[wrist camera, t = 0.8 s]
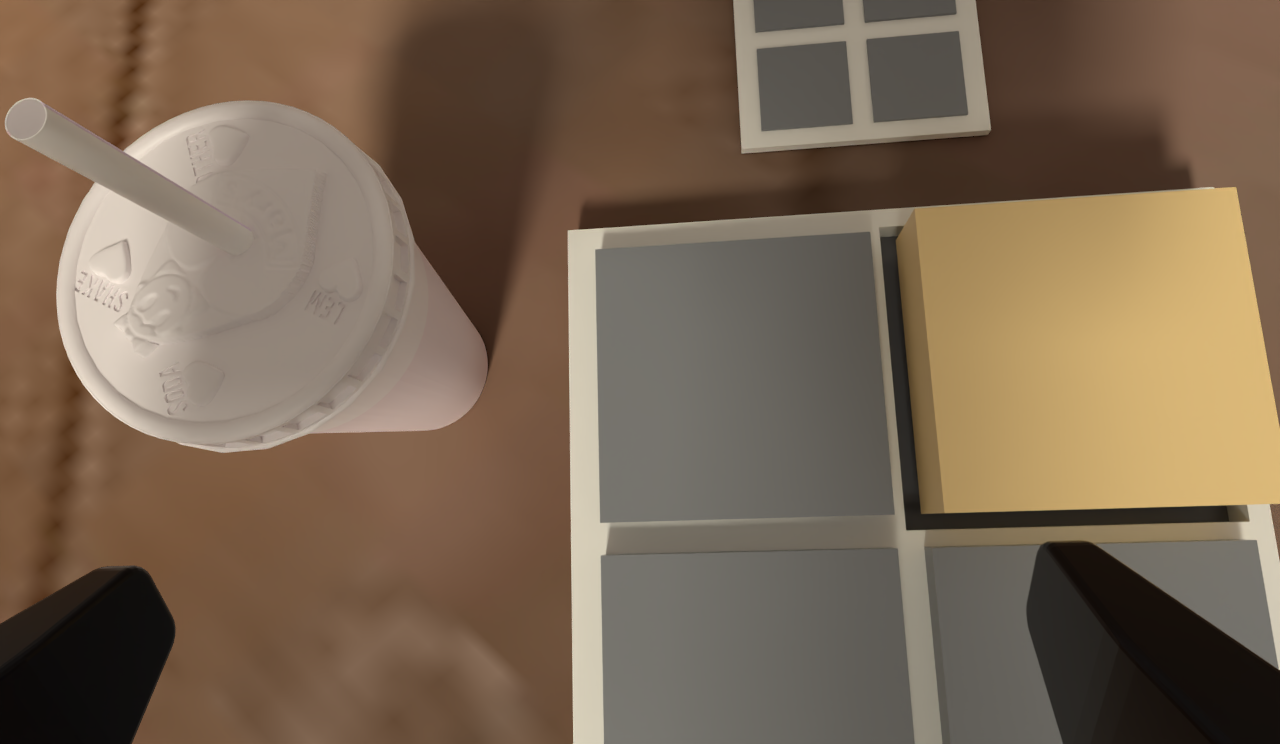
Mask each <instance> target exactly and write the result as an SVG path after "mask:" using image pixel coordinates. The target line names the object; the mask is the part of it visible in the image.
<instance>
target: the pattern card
mask: <svg viewBox="0 0 1280 744" xmlns="http://www.w3.org/2000/svg"><path fill="white" fill-rule="evenodd" d="M733 9H734V27H735V45H736V63H737V81H738V99H739V117H740V135H741V153H742V154H743V153H756V152H770V151H783V150H796V149H809V148H822V147H836V146H849V145H862V144H875V143H888V142H902V141H915V140H928V139H941V138H954V137H968V136H981V135H988V134H989V132H990V131H991V125H990V116H989V108H988V100H987V91H986V83H985V75H984V66H983V58H982V50H981V41H980V33H979V25H978V16H977V8H976V0H733Z"/></svg>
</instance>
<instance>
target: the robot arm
mask: <svg viewBox="0 0 1280 744" xmlns="http://www.w3.org/2000/svg"><path fill="white" fill-rule="evenodd" d="M1026 617H1027V624H1028V629H1029V633H1030V636H1031V639H1032V643H1033V646H1034V649H1035V653H1036V656H1037V659H1038V663H1039V666H1040V669H1041V673H1042V676H1043V679H1044V683H1045V686H1046V689H1047V693H1048V696H1049V699H1050V703H1051V706H1052V709H1053V713H1054V716H1055V719H1056V723H1057V726H1058V729H1059V733H1060V736H1061V739H1062V743H1063V744H1280V670H1279V669H1277V668H1276V667H1274V666H1273V665H1271V664H1270V663H1268V662H1267V661H1265V660H1264V659H1263V658H1261V657H1260V656H1258V655H1257V654H1255V653H1254V652H1252V651H1251V650H1249V649H1248V648H1246V647H1245V646H1244V645H1242V644H1241V643H1239V642H1238V641H1236V640H1235V639H1233V638H1232V637H1230V636H1229V635H1227V634H1226V633H1225V632H1223V631H1222V630H1220V629H1219V628H1217V627H1216V626H1214V625H1213V624H1211V623H1210V622H1208V621H1207V620H1206V619H1204V618H1203V617H1201V616H1200V615H1198V614H1197V613H1195V612H1194V611H1192V610H1191V609H1189V608H1188V607H1187V606H1185V605H1184V604H1182V603H1181V602H1179V601H1178V600H1176V599H1175V598H1173V597H1172V596H1170V595H1169V594H1168V593H1166V592H1165V591H1163V590H1162V589H1160V588H1159V587H1157V586H1156V585H1154V584H1153V583H1151V582H1150V581H1149V580H1147V579H1146V578H1144V577H1143V576H1141V575H1140V574H1138V573H1137V572H1135V571H1134V570H1132V569H1131V568H1130V567H1128V566H1127V565H1125V564H1124V563H1122V562H1121V561H1119V560H1118V559H1116V558H1115V557H1113V556H1112V555H1111V554H1109V553H1108V552H1106V551H1105V550H1103V549H1102V548H1100V547H1099V546H1097V545H1096V544H1094V543H1092V542H1089V541H1084V540H1066V541H1047V542H1045V543H1043V544H1042V545H1041V546H1040V547H1039V549H1038V551H1037V554H1036V559H1035V564H1034V569H1033V574H1032V579H1031V584H1030V589H1029V594H1028V599H1027V604H1026ZM174 639H175V622H174V619H173V617H172V615H171V613H170V611H169V609H168V607H167V605H166V604H165V602H164V600H163V598H162V596H161V594H160V592H159V591H158V589H157V587H156V585H155V583H154V581H153V579H152V578H151V576H150V574H149V573H148V572H147V571H146V570H144V569H143V568H142V567H138V566H107V567H101V568H98V569H95V570H93V571H91V572H90V573H88V574H86V575H84V576H83V577H81V578H79V579H77V580H76V581H74V582H72V583H70V584H69V585H67V586H65V587H63V588H62V589H60V590H58V591H56V592H55V593H53V594H51V595H50V596H48V597H46V598H44V599H43V600H41V601H39V602H37V603H36V604H34V605H32V606H30V607H29V608H27V609H25V610H23V611H22V612H20V613H18V614H16V615H15V616H13V617H11V618H9V619H8V620H6V621H4V622H2V623H1V624H0V744H132V742H133V739H134V737H135V735H136V732H137V730H138V727H139V725H140V723H141V720H142V718H143V715H144V713H145V711H146V708H147V706H148V703H149V701H150V699H151V696H152V694H153V691H154V689H155V687H156V684H157V682H158V679H159V677H160V675H161V672H162V670H163V667H164V665H165V663H166V660H167V658H168V656H169V653H170V651H171V648H172V646H173V643H174Z"/></svg>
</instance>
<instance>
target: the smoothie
mask: <svg viewBox="0 0 1280 744" xmlns="http://www.w3.org/2000/svg"><path fill="white" fill-rule="evenodd" d="M5 128H6V131H7V133H8V134H9V135H10V137H12V138H14V139H15V140H17V141H19V142H21V143H23V144H25V145H27V146H28V147H30V148H32V149H34V150H36V151H38V152H40V153H42V154H44V155H45V156H47V157H49V158H51V159H53V160H55V161H57V162H59V163H60V164H62V165H64V166H66V167H68V168H70V169H72V170H74V171H75V172H77V173H79V174H81V175H83V176H85V177H87V178H89V179H90V180H92V181H94V182H95V183H94V185H93V186H92V188H91V189H90V191H89V192H88V194H87V195H86V196H85V198H84V199H83V201H82V203H81V205H80V207H79V209H78V211H77V213H76V215H75V217H74V220H73V222H72V224H71V226H70V228H69V230H68V234H67V237H66V241H65V244H64V247H63V251H62V255H61V258H60V262H59V271H58V278H57V292H56V297H57V314H58V321H59V328H60V332H61V336H62V340H63V344H64V347H65V349H66V352H67V355H68V358H69V360H70V362H71V364H72V366H73V368H74V370H75V372H76V374H77V375H78V377H79V379H80V380H81V382H82V383H83V385H84V386H85V387H86V389H87V390H88V391H89V392H90V394H91V395H92V396H93V397H94V399H96V400H97V401H98V402H99V403H100V404H101V405H102V406H103V407H104V408H105V409H106V410H107V411H108V412H110V413H111V414H112V415H113V416H115V417H116V418H117V419H119V420H120V421H122V422H124V423H125V424H127V425H129V426H130V427H132V428H134V429H137V430H139V431H141V432H143V433H145V434H148V435H151V436H154V437H157V438H160V439H164V440H169V441H173V442H177V443H179V444H181V445H185V446H191V447H196V448H201V449H206V450H211V451H216V452H222V453H227V452H238V451H249V450H260V449H269V448H272V447H274V446H277V445H280V444H282V443H285V442H288V441H290V440H293V439H296V438H298V437H301V436H304V435H307V434H309V433H344V432H387V431H427V430H434V429H439V428H442V427H445V426H447V425H450V424H452V423H453V422H455V421H457V420H458V419H460V418H461V417H462V416H464V415H465V414H466V413H467V412H468V411H469V410H470V409H471V408H472V406H473V405H474V404H475V403H476V401H477V400H478V398H479V396H480V394H481V392H482V390H483V388H484V385H485V382H486V377H487V371H488V358H487V352H486V348H485V345H484V342H483V340H482V338H481V336H480V334H479V333H478V331H477V330H476V328H475V327H474V325H473V324H472V323H471V321H470V320H469V318H468V317H467V315H466V314H465V313H464V311H463V310H462V308H461V307H460V305H459V304H458V303H457V301H456V300H455V298H454V297H453V296H452V294H451V293H450V291H449V290H448V288H447V287H446V286H445V284H444V283H443V281H442V280H441V278H440V277H439V276H438V274H437V273H436V271H435V270H434V269H433V267H432V266H431V264H430V263H429V261H428V260H427V259H426V257H425V256H424V254H423V253H422V251H421V250H420V249H419V247H418V246H417V244H416V243H415V241H414V237H413V234H412V230H411V227H410V224H409V221H408V217H407V214H406V211H405V208H404V204H403V201H402V198H401V197H400V195H399V194H398V192H397V191H396V189H395V188H394V186H393V185H392V183H391V182H390V180H389V179H388V177H387V176H386V174H385V173H384V171H383V170H382V168H381V167H380V165H379V164H378V163H376V162H375V161H374V160H373V159H371V158H370V157H369V156H368V155H367V154H365V153H364V152H363V151H362V150H361V149H359V148H358V147H357V146H356V145H355V144H353V143H352V142H351V141H350V140H349V139H348V138H347V137H346V136H345V135H343V134H342V133H341V132H340V131H338V130H337V129H336V128H335V127H333V126H332V125H330V124H329V123H327V122H325V121H324V120H322V119H320V118H318V117H316V116H314V115H312V114H310V113H308V112H306V111H303V110H300V109H297V108H295V107H291V106H287V105H283V104H279V103H272V102H265V101H231V102H224V103H218V104H213V105H209V106H205V107H201V108H197V109H195V110H192V111H189V112H186V113H183V114H181V115H179V116H176V117H174V118H172V119H170V120H168V121H166V122H164V123H162V124H161V125H159V126H157V127H155V128H153V129H152V130H150V131H149V132H147V133H146V134H144V135H143V136H141V137H140V138H139V139H138V140H136V141H135V142H134V143H132V144H131V145H130V146H128V147H127V148H126V149H125V150H124V151H122V150H120V149H119V148H117V147H115V146H114V145H112V144H110V143H109V142H107V141H105V140H104V139H102V138H100V137H99V136H97V135H96V134H94V133H92V132H91V131H89V130H87V129H86V128H84V127H82V126H81V125H79V124H77V123H76V122H74V121H73V120H71V119H69V118H68V117H66V116H64V115H63V114H61V113H59V112H58V111H56V110H54V109H53V108H51V107H49V106H48V105H46V104H45V103H43V102H41V101H40V100H38V99H35V98H26V99H22V100H20V101H18V102H17V103H15V104H14V105H13V106H12V107H11V108H10V110H9V111H8V113H7V115H6V119H5Z"/></svg>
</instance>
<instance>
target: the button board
mask: <svg viewBox="0 0 1280 744" xmlns="http://www.w3.org/2000/svg"><path fill="white" fill-rule="evenodd" d="M1200 189H1214V187H1207V188H1192V189H1177V190H1162V191H1147V192H1133V193H1118V194H1103V195H1088V196H1073V197H1058V198H1043V199H1029V200H1014V201H999V202H984V203H969V204H954V205H939V206H924V207H910V208H895V209H880V210H865V211H850V212H835V213H820V214H805V215H791V216H776V217H761V218H746V219H731V220H716V221H701V222H687V223H672V224H657V225H642V226H627V227H612V228H597V229H582V230H568V298H569V389H570V481H571V572H572V664H573V744H1063V743H1062V739H1061V736H1060V733H1059V729H1058V726H1057V723H1056V719H1055V716H1054V713H1053V709H1052V706H1051V703H1050V699H1049V696H1048V693H1047V689H1046V686H1045V683H1044V679H1043V676H1042V673H1041V669H1040V666H1039V663H1038V659H1037V656H1036V653H1035V649H1034V646H1033V643H1032V639H1031V636H1030V633H1029V629H1028V624H1027V617H1026V604H1027V599H1028V594H1029V589H1030V584H1031V579H1032V574H1033V569H1034V564H1035V559H1036V554H1037V551H1038V549H1039V547H1040V546H1041V545H1042V544H1043V543H1045V542H1047V541H1066V540H1084V541H1089V542H1092V543H1094V544H1096V545H1097V546H1099V547H1100V548H1102V549H1103V550H1105V551H1106V552H1108V553H1109V554H1111V555H1112V556H1113V557H1115V558H1116V559H1118V560H1119V561H1121V562H1122V563H1124V564H1125V565H1127V566H1128V567H1130V568H1131V569H1132V570H1134V571H1135V572H1137V573H1138V574H1140V575H1141V576H1143V577H1144V578H1146V579H1147V580H1149V581H1150V582H1151V583H1153V584H1154V585H1156V586H1157V587H1159V588H1160V589H1162V590H1163V591H1165V592H1166V593H1168V594H1169V595H1170V596H1172V597H1173V598H1175V599H1176V600H1178V601H1179V602H1181V603H1182V604H1184V605H1185V606H1187V607H1188V608H1189V609H1191V610H1192V611H1194V612H1195V613H1197V614H1198V615H1200V616H1201V617H1203V618H1204V619H1206V620H1207V621H1208V622H1210V623H1211V624H1213V625H1214V626H1216V627H1217V628H1219V629H1220V630H1222V631H1223V632H1225V633H1226V634H1227V635H1229V636H1230V637H1232V638H1233V639H1235V640H1236V641H1238V642H1239V643H1241V644H1242V645H1244V646H1245V647H1246V648H1248V649H1249V650H1251V651H1252V652H1254V653H1255V654H1257V655H1258V656H1260V657H1261V658H1263V659H1264V660H1265V661H1267V662H1268V663H1270V664H1271V665H1273V666H1274V667H1276V668H1277V669H1279V670H1280V562H1279V556H1278V550H1277V544H1276V539H1275V533H1274V527H1273V522H1272V516H1271V510H1270V504H1254V505H1219V506H1184V507H1148V508H1113V509H1077V510H1042V511H1006V512H971V513H935V514H921V507H920V497H919V486H918V475H917V464H916V454H915V443H914V432H913V421H912V411H911V400H910V389H909V378H908V368H907V357H906V346H905V335H904V325H903V314H902V303H901V292H900V282H899V271H898V260H897V249H896V239H897V237H898V236H899V234H900V232H901V231H902V229H903V227H904V226H905V224H906V222H907V221H908V219H909V217H910V216H911V214H912V212H913V210H914V209H916V208H931V207H946V206H961V205H976V204H991V203H1006V202H1021V201H1036V200H1051V199H1066V198H1080V197H1095V196H1110V195H1125V194H1140V193H1155V192H1170V191H1185V190H1200Z"/></svg>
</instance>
